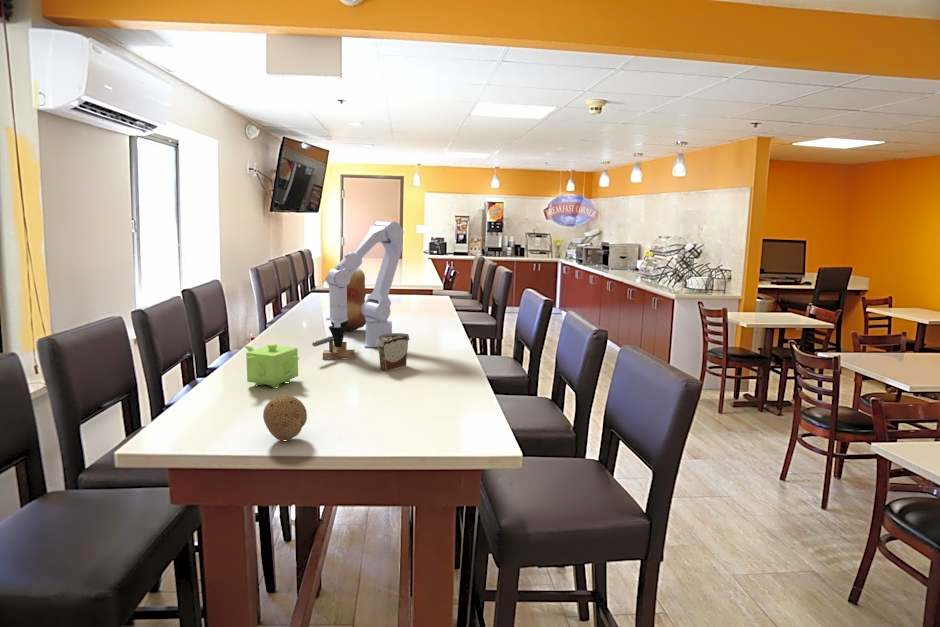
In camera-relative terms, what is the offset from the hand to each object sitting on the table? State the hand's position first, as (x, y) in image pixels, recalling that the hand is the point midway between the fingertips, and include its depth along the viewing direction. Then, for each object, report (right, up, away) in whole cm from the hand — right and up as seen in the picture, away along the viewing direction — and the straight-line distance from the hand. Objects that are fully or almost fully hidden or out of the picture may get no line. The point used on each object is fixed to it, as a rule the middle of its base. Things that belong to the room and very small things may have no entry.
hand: (338, 344), depth 216 cm
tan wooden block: (0, -3, +1) cm, 3 cm away
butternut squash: (-2, +3, +33) cm, 34 cm away
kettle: (-11, -9, -38) cm, 41 cm away
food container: (+19, -6, -18) cm, 27 cm away
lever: (-2, +1, -13) cm, 13 cm away
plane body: (+2, -4, -8) cm, 9 cm away
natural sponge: (+5, -17, -79) cm, 81 cm away
